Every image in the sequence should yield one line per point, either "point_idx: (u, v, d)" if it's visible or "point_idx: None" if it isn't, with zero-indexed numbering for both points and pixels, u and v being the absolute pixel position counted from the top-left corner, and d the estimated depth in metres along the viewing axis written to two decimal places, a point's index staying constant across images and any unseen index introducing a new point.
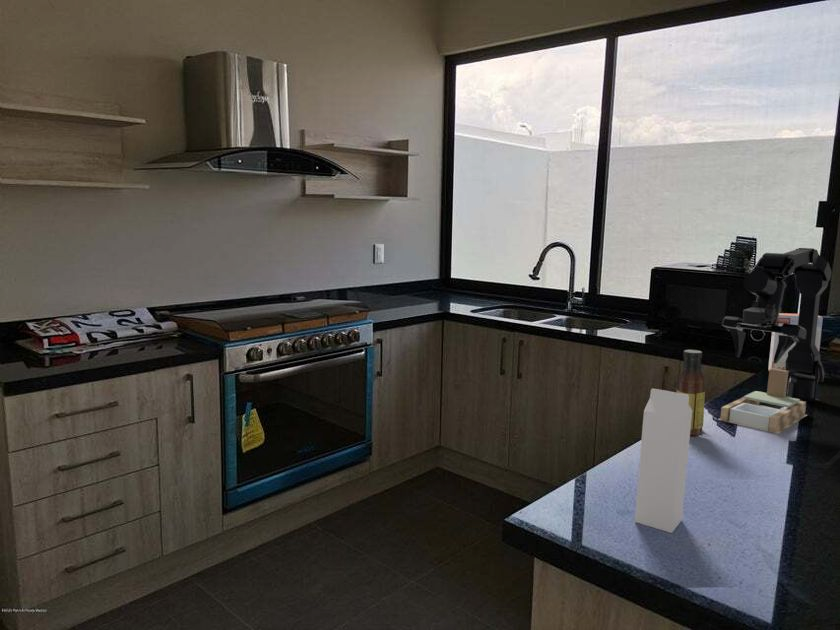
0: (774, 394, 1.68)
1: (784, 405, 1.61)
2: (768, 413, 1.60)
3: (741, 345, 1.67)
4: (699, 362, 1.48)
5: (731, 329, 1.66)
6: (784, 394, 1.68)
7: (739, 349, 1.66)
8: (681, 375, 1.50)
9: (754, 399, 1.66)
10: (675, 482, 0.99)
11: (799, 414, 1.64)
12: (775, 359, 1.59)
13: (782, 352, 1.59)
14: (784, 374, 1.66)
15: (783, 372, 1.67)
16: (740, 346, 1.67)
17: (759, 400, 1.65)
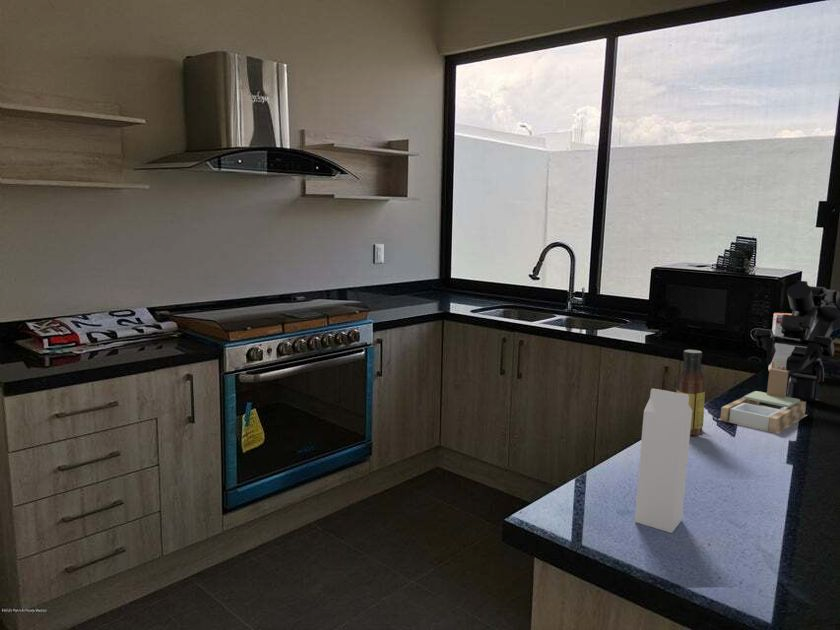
0: (774, 394, 1.68)
1: (784, 405, 1.61)
2: (768, 413, 1.60)
3: (772, 356, 1.75)
4: (699, 362, 1.48)
5: (766, 338, 1.76)
6: (784, 394, 1.68)
7: (770, 357, 1.74)
8: (681, 375, 1.50)
9: (754, 399, 1.66)
10: (675, 482, 0.99)
11: (799, 414, 1.64)
12: (801, 365, 1.68)
13: (807, 361, 1.69)
14: (784, 374, 1.66)
15: (783, 372, 1.67)
16: (771, 356, 1.75)
17: (759, 400, 1.65)
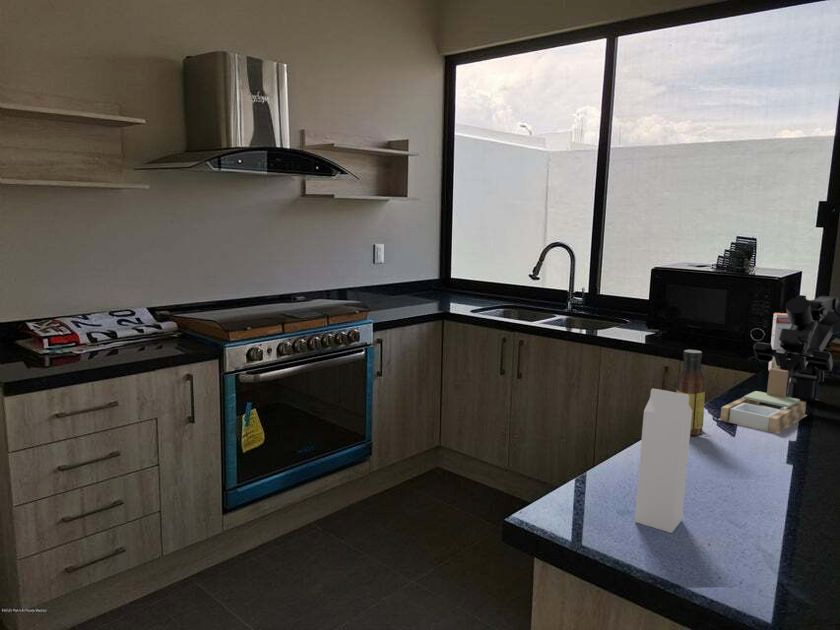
0: (774, 394, 1.68)
1: (784, 405, 1.61)
2: (768, 413, 1.60)
3: None
4: (699, 362, 1.48)
5: (780, 354, 1.74)
6: (784, 394, 1.68)
7: None
8: (681, 375, 1.50)
9: (754, 399, 1.66)
10: (675, 482, 0.99)
11: (799, 414, 1.64)
12: None
13: (791, 373, 1.72)
14: (784, 374, 1.66)
15: (783, 372, 1.67)
16: None
17: (759, 400, 1.65)
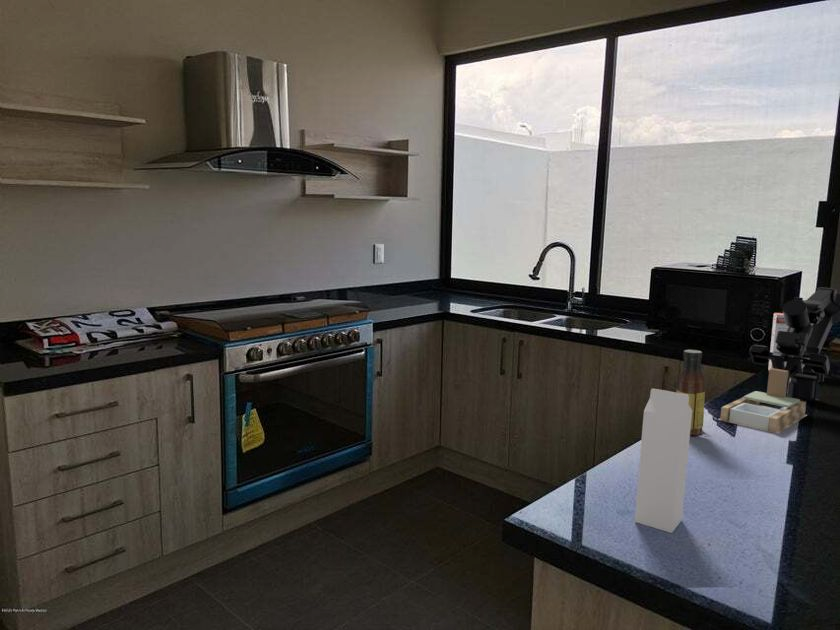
0: (774, 394, 1.68)
1: (784, 405, 1.60)
2: (768, 413, 1.60)
3: None
4: (699, 362, 1.48)
5: (776, 356, 1.72)
6: (784, 394, 1.67)
7: None
8: (681, 375, 1.50)
9: (754, 399, 1.66)
10: (675, 482, 0.99)
11: (799, 414, 1.64)
12: None
13: None
14: (784, 374, 1.66)
15: (783, 372, 1.66)
16: None
17: (759, 400, 1.65)
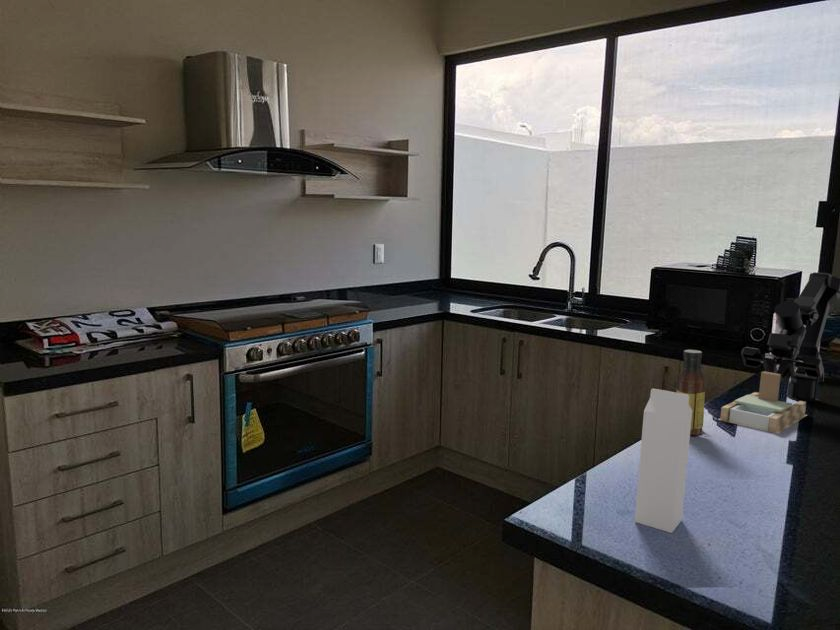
0: (766, 398, 1.64)
1: (776, 410, 1.56)
2: (768, 413, 1.60)
3: None
4: (699, 362, 1.48)
5: (768, 359, 1.68)
6: (776, 398, 1.63)
7: None
8: (681, 375, 1.50)
9: (745, 403, 1.61)
10: (675, 482, 0.99)
11: (799, 414, 1.64)
12: None
13: (780, 379, 1.66)
14: (776, 377, 1.62)
15: (775, 375, 1.62)
16: None
17: (750, 404, 1.60)
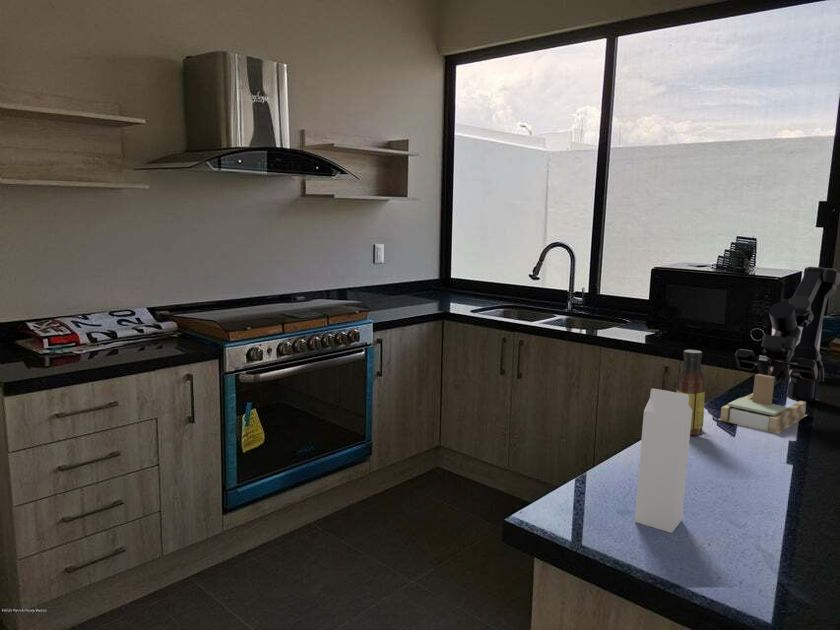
0: (760, 401, 1.61)
1: (769, 413, 1.53)
2: None
3: None
4: (699, 362, 1.48)
5: (762, 361, 1.64)
6: (770, 401, 1.60)
7: None
8: (681, 375, 1.50)
9: (738, 406, 1.58)
10: (675, 482, 0.99)
11: (799, 414, 1.64)
12: None
13: (774, 382, 1.62)
14: (770, 380, 1.59)
15: (769, 378, 1.59)
16: None
17: (744, 407, 1.57)
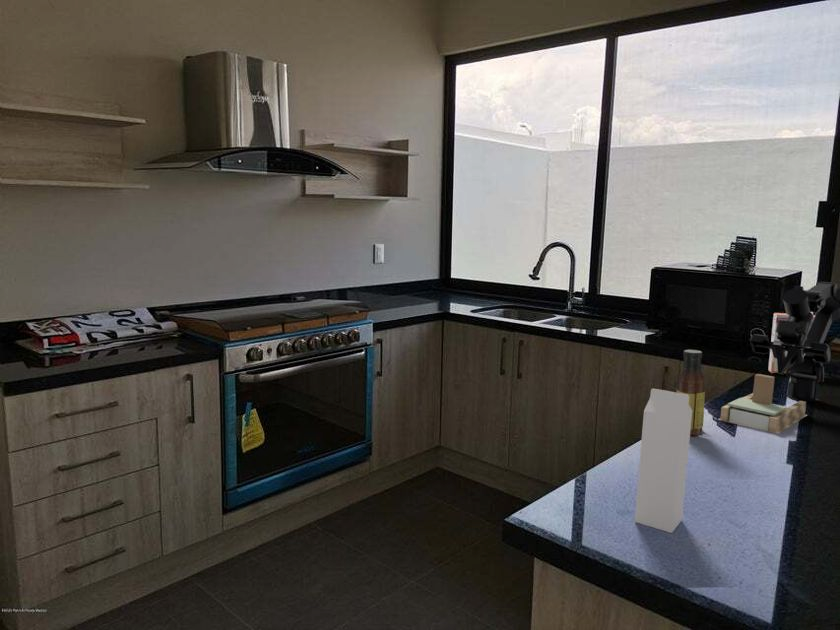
0: (760, 401, 1.61)
1: (769, 413, 1.53)
2: None
3: None
4: (699, 362, 1.48)
5: (777, 346, 1.71)
6: (770, 401, 1.60)
7: (781, 365, 1.69)
8: (681, 375, 1.50)
9: (738, 406, 1.58)
10: (675, 482, 0.99)
11: (799, 414, 1.64)
12: (781, 369, 1.69)
13: (788, 365, 1.69)
14: (770, 380, 1.59)
15: (769, 378, 1.59)
16: None
17: (743, 408, 1.57)
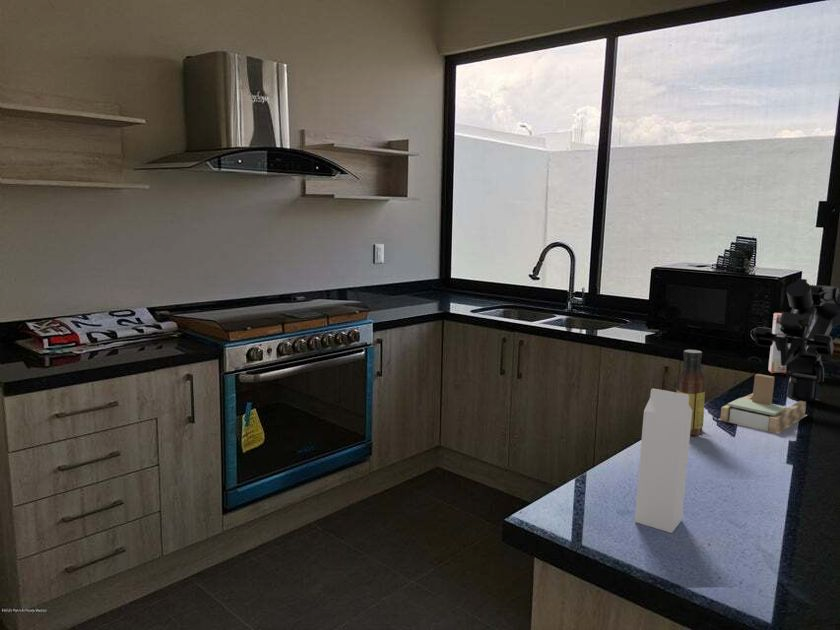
0: (760, 401, 1.61)
1: (769, 413, 1.53)
2: None
3: None
4: (699, 362, 1.48)
5: (780, 338, 1.72)
6: (770, 401, 1.60)
7: (784, 357, 1.71)
8: (681, 375, 1.50)
9: (738, 406, 1.58)
10: (675, 482, 0.99)
11: (799, 414, 1.64)
12: (785, 360, 1.70)
13: (791, 357, 1.70)
14: (770, 380, 1.59)
15: (769, 378, 1.59)
16: None
17: (743, 408, 1.57)
